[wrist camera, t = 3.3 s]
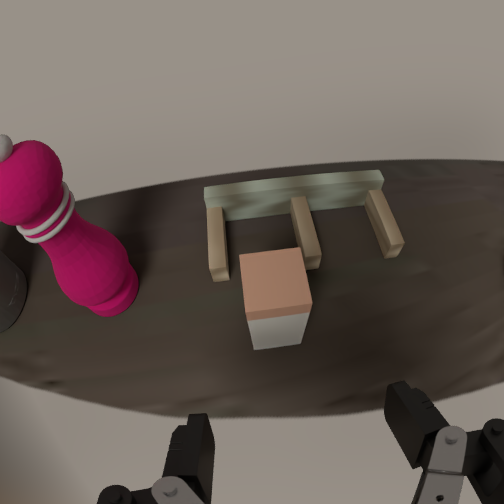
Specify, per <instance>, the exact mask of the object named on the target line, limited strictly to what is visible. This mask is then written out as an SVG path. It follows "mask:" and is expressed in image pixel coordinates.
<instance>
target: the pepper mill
mask: <svg viewBox="0 0 504 504" xmlns="http://www.w3.org/2000/svg"><path fill="white" fill-rule="evenodd" d="M62 177H63V172H62V166H61V163H60V160H59V158H58V156H57V155H56V154H55V152H54V151H53V150H52V149H51V148H50V147H49V146H47V145H46V144H44V143H42V142H39V141H35V140H30V141H23V142H20V143H18V144H15V145H13V144H12V141H11V139H10V138H9V137H8V136H6V135H0V221H2V222H4V223H6V224H7V225H13V226H16V227H17V230H18V231H19V232H20V233H21V234H23V236H24V238H25V239H26V240H27V241H29V242H31V243H38V244H39V245H41V246H42V248H43V249H44V250H45V251H46V252H47V254H48V255H49V257H50V259H51V261H52V264H53V269H54V273H55V276H56V279H57V281H58V284H59V285H60V287H61V289H62V291H63V292H64V293H65V294H66V295H67V296H68V297H69V298H70V299H71V300H72V301H73V302H75V303H77V304H79V305H83V306H87V307H88V308H89V309H91V310H92V311H93V312H94V313H96V314H97V315H100V316H104V317H110V316H115V315H117V314H120V313H121V312H123V311H125V310H126V309H127V308H128V307H129V306H130V305H131V304H132V302H133V301H134V299H135V297H136V295H137V292H138V286H139V282H138V276H137V274H136V272H135V270H134V269H133V267H132V266H131V265H130V263H129V260H128V255H127V252H126V250H125V248H124V246H123V245H122V244H121V242H120V241H119V240H118V239H117V238H116V237H115V236H114V235H112V234H111V233H110V232H108V231H107V230H105V229H103V228H100V227H98V226H95V225H93V224H91V223H89V222H87V221H85V220H84V219H83V218H81V217H80V215H79V214H78V213H77V212H76V210H75V208H74V205H75V199H74V196H73V194H72V192H71V191H70V190H69V188H68V186H67V184H66V183H65V182H63V181H62Z"/></svg>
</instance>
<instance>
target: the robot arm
mask: <svg viewBox="0 0 504 504" xmlns="http://www.w3.org/2000/svg"><path fill="white" fill-rule="evenodd" d="M26 292H27V282H26V277H25V275H24V273H23V272H22V271H21V269H19V268H18V267H17V266H16V265H15V264H14V263H13V262H12V261H11V260H10V259H9V258H8V257H6V256H5V255H4V254H3V253H2V252H1V251H0V332H2V331H4V330H6V329H8V328H9V327H10V326H11V325H12V324H13V323H14V322H15V320H16V319H17V318H18V316H19V314H20V312H21V310H22V308H23V305H24V302H25V298H26ZM384 415H385V419H386V422H387V423H388V425H389V427H390V429H391V431H392V432H393V434H394V436H395V438H396V439H397V441H398V443H399V445H400V447H401V449H402V450H403V452H404V454H405V456H406V458H407V460H408V461H409V463H410V465H411V467H412V469H415V468H417V467H420V466H421V467H422V468H423V472H422V475H421V478H420V481H419V484H418V487H417V490H416V492H415V495H414V498H413V501H412V503H411V504H458V501H459V497H460V493H461V489H462V484H463V479H464V476H467V478H468V479H469V481H470V483H471V485H472V486H473V488H474V490H475V492H476V494H477V496H478V497H479V499H480V501H481V503H482V504H504V420H502V419H491V420H489V421H487V422H486V423H485V425H484V427H483V429H482V430H476V431H471V432H465V431H464V430H463V429H462V428H460V427H457V426H450V425H449V424H448V422H447V421H446V420H445V419H444V417H443V416H442V415H441V414H440V412H439V411H438V409H437V408H436V407H434V404H433V403H432V402H431V401H430V399H429V398H428V397H427V395H426V394H425V393H424V392H422V391H420V390H419V389H417V388H414V389H411V388H410V387H409V385H408V384H407V383H406V382H405V381H400V382H397V383H393V384H389V385H388V387H387V393H386V400H385V407H384ZM214 454H215V441H214V436H213V432H212V429H211V426H210V422H209V419H208V415H207V414H206V413H202V414H189V416H188V421H187V425H179V426H178V427H177V428H176V429H175V431H174V432H173V433H172V437H171V441H170V445H169V451H168V454H167V458H166V463H165V467H164V471H163V475H162V478H161V479H159V480H157V481H156V482H155V483H154V484H153V486H152V487H151V488H148V489H143V490H137V491H131V492H130V491H129V490H128V489H127V488H126V487H124V486H121V485H112V486H109V487H106V488H105V489H103V490H102V492H101V493H100V495H99V498H98V502H97V504H211V495H212V481H213V467H214Z"/></svg>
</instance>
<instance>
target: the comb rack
mask: <svg viewBox="0 0 504 504" xmlns="http://www.w3.org/2000/svg"><path fill="white" fill-rule="evenodd" d="M383 182H384V178H383V176H382V174H381V172H380V171H379V170H368V171H352V172H338V173H325V174H314V175H303V176H292V177H283V178H273V179H265V180H256V181H248V182H240V183H232V184H225V185H218V186H211V187H204V200H205V203H206V207H207V227H208V252H209V270H210V272H211V275H212V278H213V281H214V282H218V281H226V280H230V277H229V266H228V254H227V242H226V230H225V221H232V220H240V219H248V218H256V217H264V216H272V215H280V214H289V213H290V215H291V219H292V223H293V227H294V231H295V236H296V240H297V245H298V247H300V248H301V253H302V257H303V262H304V266H305V270H310V269H317V268H319V264H320V260H321V256H322V253H321V249H320V246H319V242H318V238H317V235H316V231H315V227H314V224H313V220H312V217H311V213H310V211H315V210H324V209H334V208H343V207H353V206H364V207H365V209H366V212H367V214H368V217H369V219H370V222H371V224H372V227H373V230H374V232H375V235H376V237H377V240H378V243H379V246H380V248H381V251H382V254H383V257H384V259H385V258H391V257H397V256H398V254H399V252H400V250H401V249H402V247H403V245H404V240H403V238H402V235H401V233H400V230H399V228H398V226H397V223H396V221H395V219H394V217H393V214H392V212H391V210H390V208H389V206H388V203H387V201H386V199H385V197H384V195H383V193H382V191H381V188H382V185H383Z"/></svg>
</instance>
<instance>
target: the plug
mask: <svg viewBox="0 0 504 504" xmlns="http://www.w3.org/2000/svg"><path fill="white" fill-rule="evenodd" d="M239 257H240V266H241V276H242V285H243V294H244V303H245V312H246V317H247V321H248V325H249V330H250V334H251V339H252V343H253V347H254V350H259V349H267V348H275V347H282V346H289V345H295V344H301V341H302V337H303V334H304V331H305V327H306V324H307V321H308V317H309V314H310V310H311V307H312V298H311V294H310V289H309V284H308V280H307V275H306V271H305V266H304V262H303V257H302V253H301V248H300V247H297V248H289V249H282V250H274V251H266V252H258V253H251V254H243V255H239Z"/></svg>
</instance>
